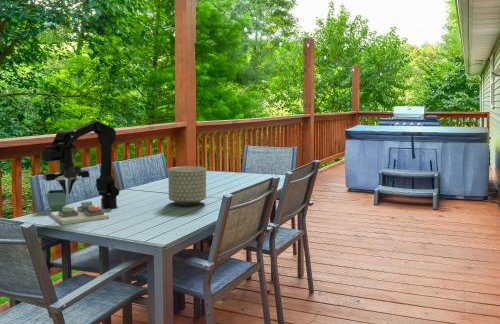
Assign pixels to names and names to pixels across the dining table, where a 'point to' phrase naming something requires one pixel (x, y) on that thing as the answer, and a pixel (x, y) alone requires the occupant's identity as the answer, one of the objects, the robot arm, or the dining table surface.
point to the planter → (187, 184)
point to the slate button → (85, 204)
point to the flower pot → (56, 199)
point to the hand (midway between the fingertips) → (67, 194)
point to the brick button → (93, 208)
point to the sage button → (67, 209)
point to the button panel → (78, 216)
